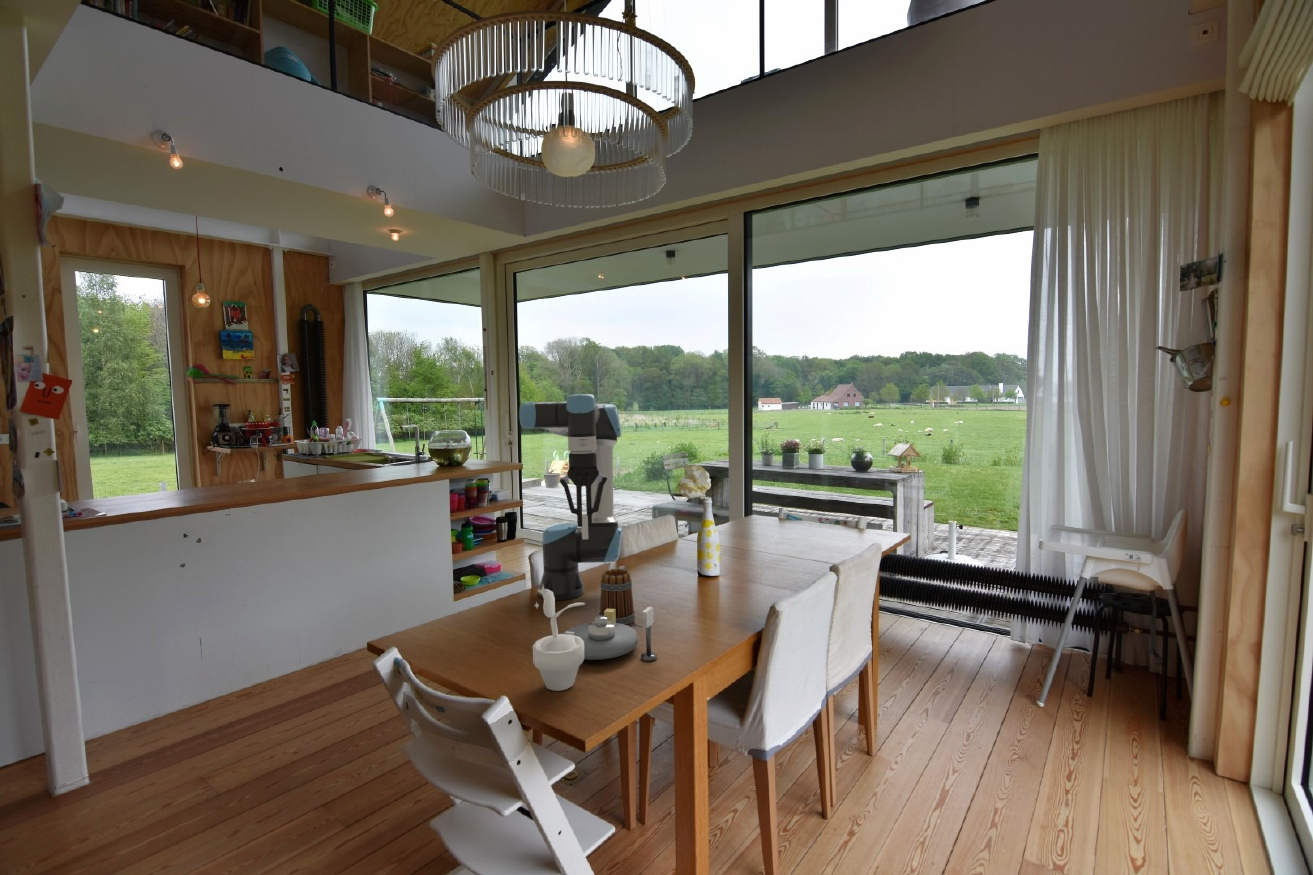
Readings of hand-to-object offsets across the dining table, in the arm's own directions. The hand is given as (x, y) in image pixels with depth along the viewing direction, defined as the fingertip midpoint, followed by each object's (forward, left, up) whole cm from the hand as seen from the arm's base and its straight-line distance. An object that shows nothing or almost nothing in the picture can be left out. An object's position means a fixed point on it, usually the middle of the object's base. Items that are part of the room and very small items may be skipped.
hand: (585, 538), depth 166 cm
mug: (-11, +11, -28) cm, 32 cm away
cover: (+10, +2, -24) cm, 26 cm away
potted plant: (+26, -11, -28) cm, 40 cm away
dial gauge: (+17, +11, -28) cm, 35 cm away
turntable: (+9, +1, -26) cm, 28 cm away
